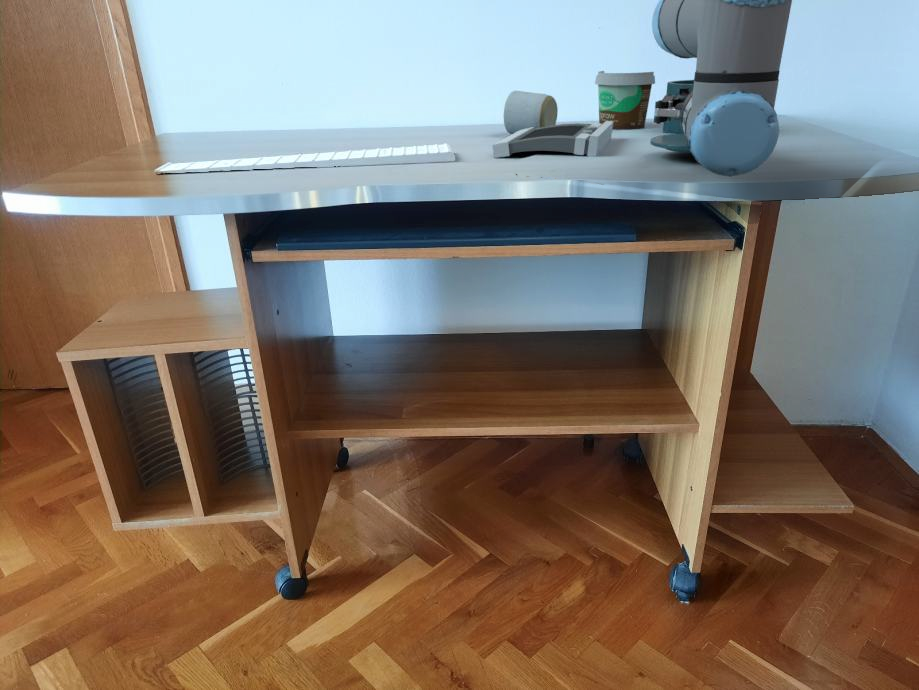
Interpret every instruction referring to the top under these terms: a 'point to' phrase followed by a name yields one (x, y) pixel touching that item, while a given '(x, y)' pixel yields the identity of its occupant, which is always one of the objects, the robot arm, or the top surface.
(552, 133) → the grey curved frame
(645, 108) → the food container
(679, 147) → the lid
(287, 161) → the keyboard
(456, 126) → the top surface
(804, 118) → the top surface
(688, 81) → the pot
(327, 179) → the top surface
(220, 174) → the top surface
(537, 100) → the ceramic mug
